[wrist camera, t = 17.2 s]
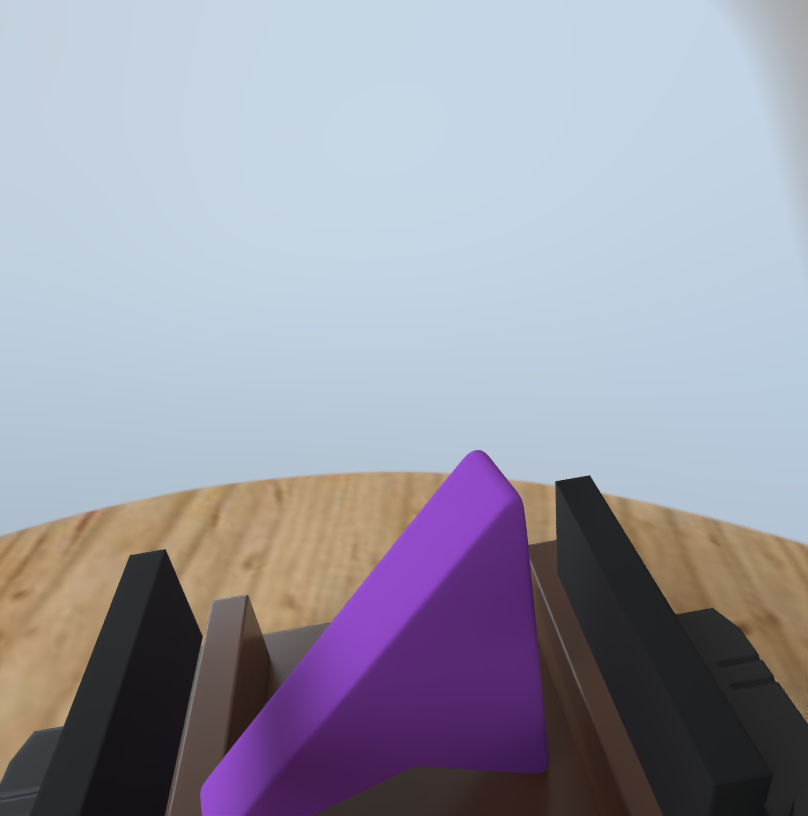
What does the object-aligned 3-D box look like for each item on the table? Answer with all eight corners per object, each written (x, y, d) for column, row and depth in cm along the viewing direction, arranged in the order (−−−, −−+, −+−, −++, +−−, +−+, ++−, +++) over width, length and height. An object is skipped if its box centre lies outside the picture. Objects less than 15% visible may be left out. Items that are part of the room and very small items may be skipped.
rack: (612, 594, 24) (615, 507, 22) (905, 1157, 12) (974, 1079, 10) (185, 671, 24) (148, 589, 22) (36, 1333, 11) (-85, 1292, 9)
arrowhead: (362, 904, 18) (67, 827, 11) (345, 842, 19) (72, 743, 13) (658, 692, 17) (519, 493, 11) (621, 643, 19) (478, 442, 12)
